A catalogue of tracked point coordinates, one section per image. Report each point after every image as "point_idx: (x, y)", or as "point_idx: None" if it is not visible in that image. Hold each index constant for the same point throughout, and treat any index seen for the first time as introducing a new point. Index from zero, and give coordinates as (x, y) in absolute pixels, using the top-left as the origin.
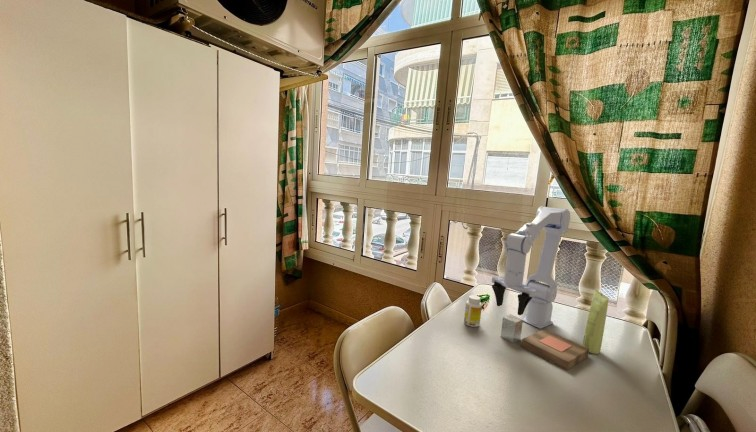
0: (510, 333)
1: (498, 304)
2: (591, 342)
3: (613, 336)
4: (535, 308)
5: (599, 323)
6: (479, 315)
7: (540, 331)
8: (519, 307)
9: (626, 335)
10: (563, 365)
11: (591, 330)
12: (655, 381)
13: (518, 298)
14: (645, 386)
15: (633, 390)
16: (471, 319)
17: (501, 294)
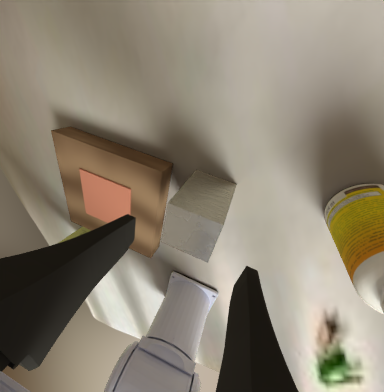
0: (198, 183)
1: (246, 274)
2: (70, 238)
3: (99, 288)
4: (172, 321)
5: None
6: (343, 230)
7: (150, 243)
8: (92, 237)
9: (93, 296)
10: (72, 130)
11: None
12: (19, 195)
13: (20, 287)
14: (12, 171)
15: (7, 144)
16: (380, 198)
17: (231, 360)
